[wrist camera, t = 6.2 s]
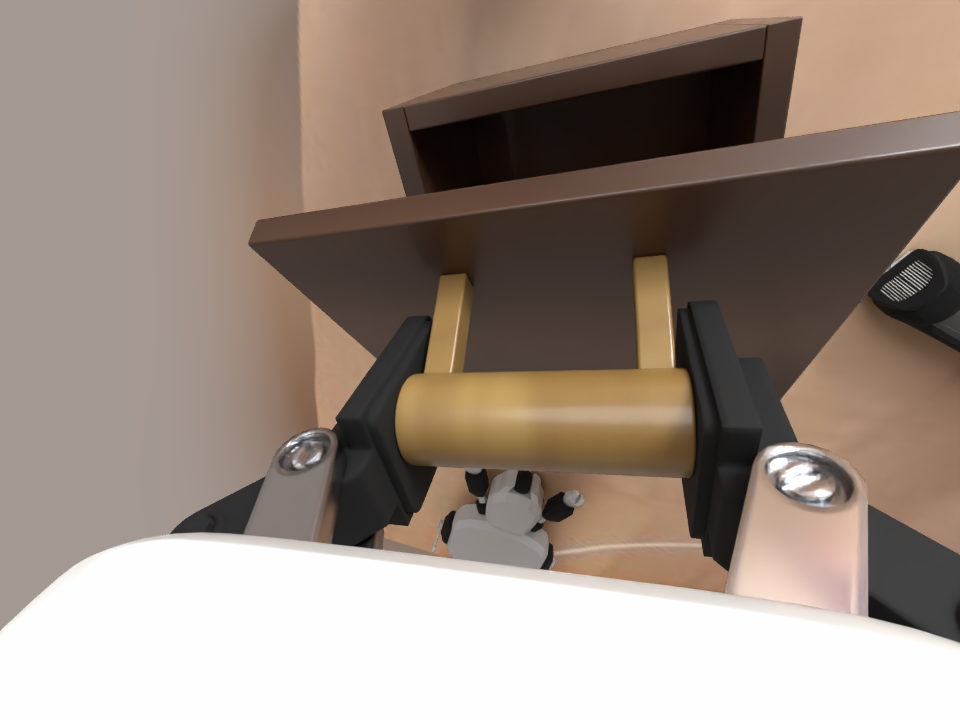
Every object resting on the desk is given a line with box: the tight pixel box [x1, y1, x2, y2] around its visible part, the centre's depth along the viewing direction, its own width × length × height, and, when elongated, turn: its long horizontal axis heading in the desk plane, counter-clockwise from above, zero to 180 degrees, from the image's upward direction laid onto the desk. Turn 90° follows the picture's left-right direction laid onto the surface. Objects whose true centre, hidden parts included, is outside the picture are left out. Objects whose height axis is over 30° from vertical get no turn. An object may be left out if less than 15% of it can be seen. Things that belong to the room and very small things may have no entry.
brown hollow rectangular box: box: [382, 17, 803, 197], centre depth 24 cm, size 17×14×10 cm
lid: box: [248, 111, 960, 478], centre depth 15 cm, size 18×14×5 cm
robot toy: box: [432, 468, 585, 571], centre depth 44 cm, size 12×4×15 cm
